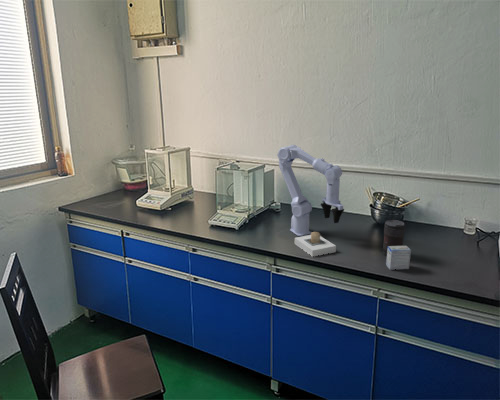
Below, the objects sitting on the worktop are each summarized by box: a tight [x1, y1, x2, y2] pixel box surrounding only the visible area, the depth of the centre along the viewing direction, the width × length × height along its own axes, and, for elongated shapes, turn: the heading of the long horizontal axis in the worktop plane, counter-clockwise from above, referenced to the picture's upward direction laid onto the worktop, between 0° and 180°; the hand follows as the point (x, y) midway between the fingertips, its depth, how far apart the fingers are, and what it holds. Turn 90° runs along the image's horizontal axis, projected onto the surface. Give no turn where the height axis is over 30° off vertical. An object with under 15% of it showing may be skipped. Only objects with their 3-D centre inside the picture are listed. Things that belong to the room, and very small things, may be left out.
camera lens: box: [382, 219, 406, 258], centre depth 172 cm, size 8×8×15 cm
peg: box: [310, 231, 321, 244], centre depth 182 cm, size 4×4×7 cm
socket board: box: [294, 234, 337, 258], centre depth 183 cm, size 16×12×3 cm
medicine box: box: [385, 245, 412, 271], centre depth 162 cm, size 8×4×9 cm, turn 92°
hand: (331, 220), depth 189 cm, fingers open, 7 cm apart
